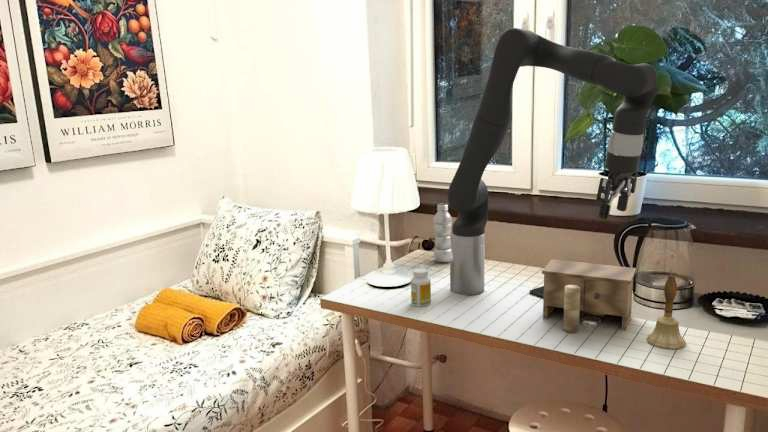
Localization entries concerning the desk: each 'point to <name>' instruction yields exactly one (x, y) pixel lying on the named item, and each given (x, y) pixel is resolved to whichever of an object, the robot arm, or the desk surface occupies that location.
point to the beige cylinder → (573, 309)
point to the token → (590, 321)
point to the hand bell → (667, 322)
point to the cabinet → (590, 287)
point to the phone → (538, 292)
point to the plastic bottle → (442, 234)
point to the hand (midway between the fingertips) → (612, 214)
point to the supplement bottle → (420, 288)
